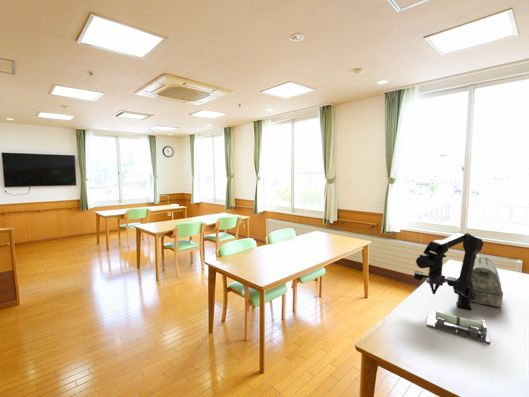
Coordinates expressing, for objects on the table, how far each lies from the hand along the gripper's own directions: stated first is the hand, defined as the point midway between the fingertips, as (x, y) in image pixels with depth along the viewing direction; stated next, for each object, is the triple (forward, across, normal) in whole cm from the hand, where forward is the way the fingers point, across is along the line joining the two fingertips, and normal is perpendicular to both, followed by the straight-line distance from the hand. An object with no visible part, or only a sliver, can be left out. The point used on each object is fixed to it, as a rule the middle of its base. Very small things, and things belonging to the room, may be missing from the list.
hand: (433, 293), depth 143 cm
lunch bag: (+12, +24, +37) cm, 45 cm away
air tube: (+7, +10, -10) cm, 16 cm away
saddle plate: (+11, +10, -10) cm, 18 cm away
